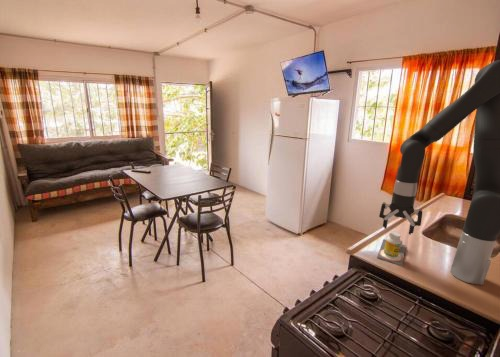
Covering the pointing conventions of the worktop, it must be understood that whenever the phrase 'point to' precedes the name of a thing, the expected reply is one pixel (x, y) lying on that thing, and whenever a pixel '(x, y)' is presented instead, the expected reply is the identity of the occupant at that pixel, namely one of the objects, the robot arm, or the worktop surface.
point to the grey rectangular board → (393, 260)
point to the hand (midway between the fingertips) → (397, 230)
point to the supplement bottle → (392, 245)
